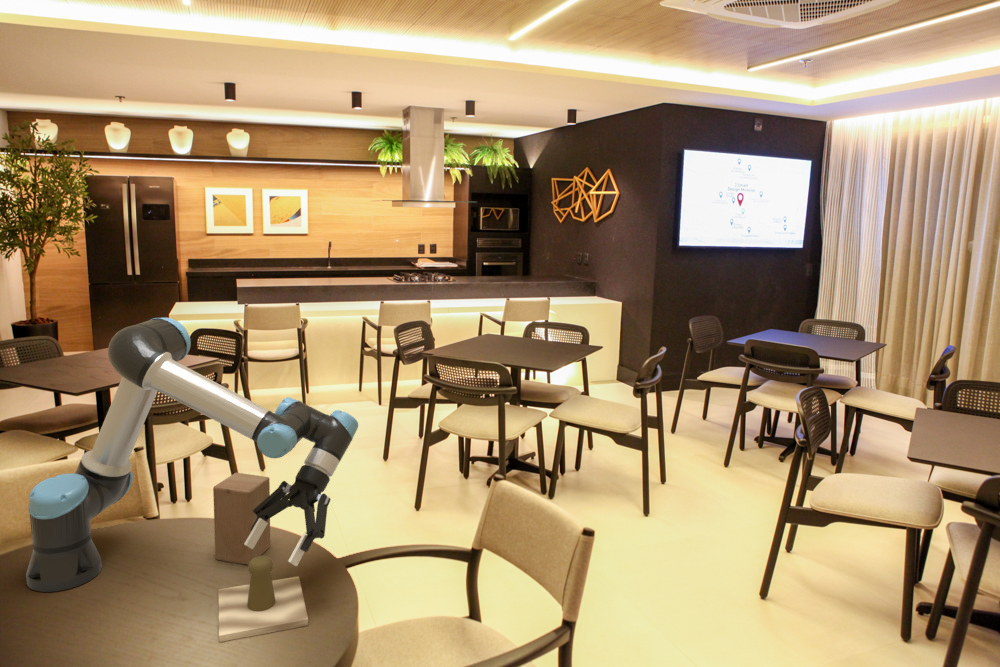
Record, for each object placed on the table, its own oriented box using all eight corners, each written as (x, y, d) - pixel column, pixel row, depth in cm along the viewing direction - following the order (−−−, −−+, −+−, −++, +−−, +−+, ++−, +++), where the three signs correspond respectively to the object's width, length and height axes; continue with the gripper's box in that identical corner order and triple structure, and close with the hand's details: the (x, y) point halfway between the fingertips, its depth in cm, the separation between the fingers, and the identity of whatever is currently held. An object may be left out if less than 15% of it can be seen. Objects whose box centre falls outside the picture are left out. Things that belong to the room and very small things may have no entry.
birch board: (218, 595, 155) (218, 589, 154) (298, 581, 162) (298, 576, 161) (219, 642, 139) (218, 635, 138) (308, 625, 146) (308, 619, 145)
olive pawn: (258, 614, 146) (257, 569, 144) (241, 604, 149) (240, 560, 147) (281, 602, 151) (280, 557, 149) (263, 592, 154) (263, 549, 152)
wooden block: (250, 566, 168) (248, 491, 164) (214, 560, 169) (212, 486, 166) (271, 546, 177) (270, 476, 174) (237, 541, 179) (235, 471, 175)
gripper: (364, 490, 157) (320, 576, 147) (286, 466, 169) (240, 545, 158) (350, 476, 152) (302, 565, 141) (270, 452, 163) (221, 534, 153)
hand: (269, 555), depth 150 cm, fingers open, 13 cm apart
